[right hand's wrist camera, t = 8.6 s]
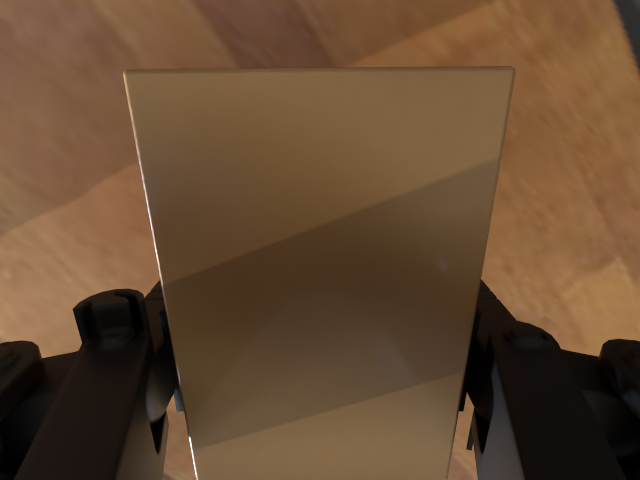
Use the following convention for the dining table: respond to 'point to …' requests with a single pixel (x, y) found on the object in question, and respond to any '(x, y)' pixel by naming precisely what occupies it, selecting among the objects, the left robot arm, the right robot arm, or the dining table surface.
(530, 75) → the dining table surface
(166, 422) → the right robot arm
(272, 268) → the beam
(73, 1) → the dining table surface
